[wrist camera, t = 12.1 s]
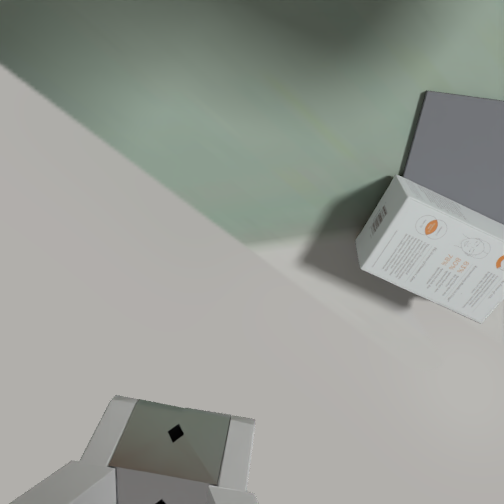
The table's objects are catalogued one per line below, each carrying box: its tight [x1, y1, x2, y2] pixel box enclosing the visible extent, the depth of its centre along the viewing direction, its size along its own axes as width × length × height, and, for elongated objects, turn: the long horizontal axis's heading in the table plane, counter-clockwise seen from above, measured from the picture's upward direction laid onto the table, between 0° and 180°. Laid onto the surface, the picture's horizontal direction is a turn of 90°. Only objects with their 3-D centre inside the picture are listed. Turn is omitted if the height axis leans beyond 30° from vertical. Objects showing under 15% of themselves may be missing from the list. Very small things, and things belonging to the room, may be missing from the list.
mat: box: [402, 91, 504, 225], centre depth 44 cm, size 18×13×1 cm
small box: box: [355, 175, 504, 324], centre depth 43 cm, size 8×6×13 cm
